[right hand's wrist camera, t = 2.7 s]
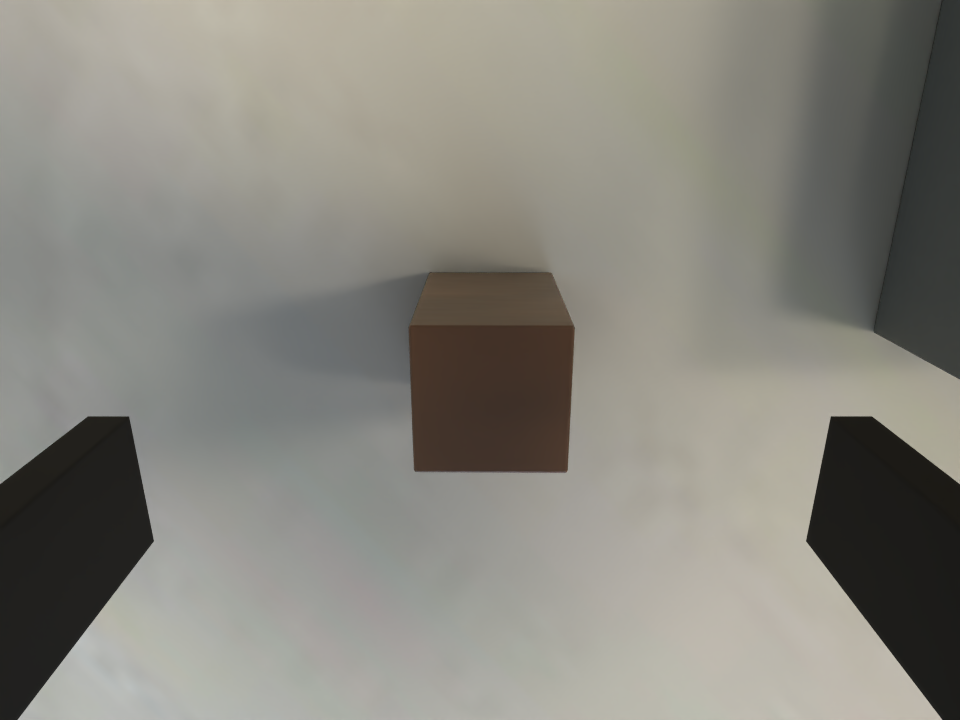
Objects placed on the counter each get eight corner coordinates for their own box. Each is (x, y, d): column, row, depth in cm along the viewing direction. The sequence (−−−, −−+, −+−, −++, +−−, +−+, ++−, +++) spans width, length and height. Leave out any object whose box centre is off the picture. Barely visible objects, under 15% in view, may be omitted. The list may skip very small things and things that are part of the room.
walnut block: (552, 272, 22) (575, 326, 16) (548, 387, 23) (567, 473, 17) (428, 272, 22) (408, 325, 16) (431, 386, 23) (413, 473, 17)
